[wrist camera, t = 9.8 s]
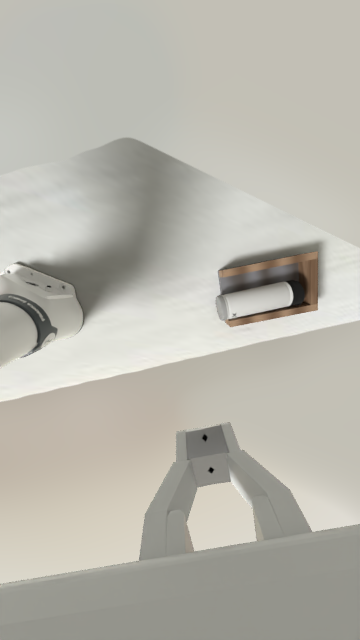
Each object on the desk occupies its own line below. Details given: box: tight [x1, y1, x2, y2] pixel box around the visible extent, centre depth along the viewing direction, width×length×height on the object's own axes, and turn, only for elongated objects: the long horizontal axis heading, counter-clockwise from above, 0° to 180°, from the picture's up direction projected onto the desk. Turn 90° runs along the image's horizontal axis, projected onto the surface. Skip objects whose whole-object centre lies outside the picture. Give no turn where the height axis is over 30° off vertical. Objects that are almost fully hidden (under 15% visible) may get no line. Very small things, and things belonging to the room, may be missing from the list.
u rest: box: [218, 251, 318, 327], centre depth 44 cm, size 22×14×5 cm, turn 101°
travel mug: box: [216, 280, 305, 321], centre depth 43 cm, size 6×7×20 cm
